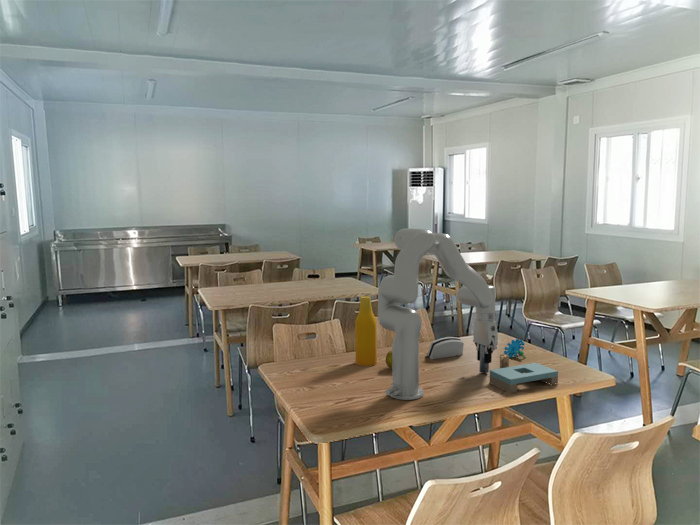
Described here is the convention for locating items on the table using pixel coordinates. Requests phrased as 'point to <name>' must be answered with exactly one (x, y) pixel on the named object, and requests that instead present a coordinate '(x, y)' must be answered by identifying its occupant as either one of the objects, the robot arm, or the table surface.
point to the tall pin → (483, 367)
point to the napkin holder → (445, 348)
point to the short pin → (504, 361)
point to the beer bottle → (366, 334)
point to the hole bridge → (521, 376)
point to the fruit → (389, 359)
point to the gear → (515, 348)
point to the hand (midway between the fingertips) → (484, 361)
